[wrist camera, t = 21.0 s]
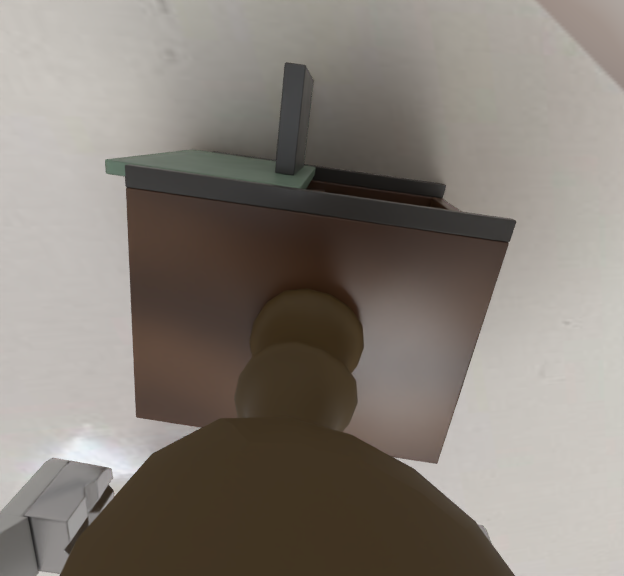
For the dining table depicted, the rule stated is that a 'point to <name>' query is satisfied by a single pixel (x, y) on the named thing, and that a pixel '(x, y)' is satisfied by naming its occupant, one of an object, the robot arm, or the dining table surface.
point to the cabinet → (313, 275)
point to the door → (278, 172)
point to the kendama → (285, 478)
